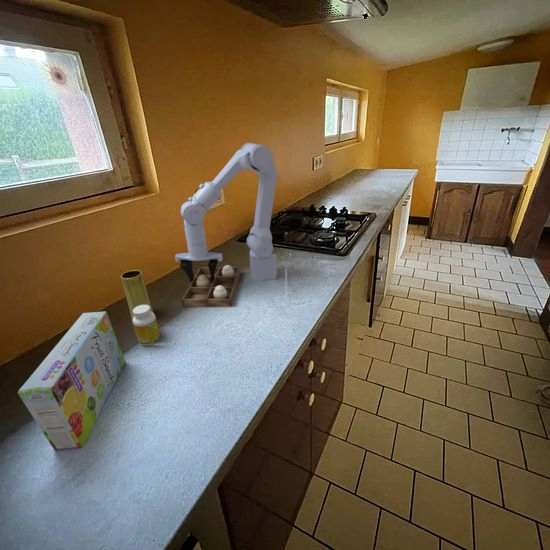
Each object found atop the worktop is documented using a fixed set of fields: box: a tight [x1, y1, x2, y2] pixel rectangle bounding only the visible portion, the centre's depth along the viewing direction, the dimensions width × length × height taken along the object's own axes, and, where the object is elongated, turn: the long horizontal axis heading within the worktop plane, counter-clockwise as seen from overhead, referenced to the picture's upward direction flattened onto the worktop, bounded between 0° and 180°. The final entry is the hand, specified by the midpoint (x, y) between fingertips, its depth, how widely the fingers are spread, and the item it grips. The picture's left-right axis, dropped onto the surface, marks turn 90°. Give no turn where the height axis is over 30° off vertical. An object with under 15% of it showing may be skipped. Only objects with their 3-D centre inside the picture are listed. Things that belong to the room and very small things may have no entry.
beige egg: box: [196, 275, 209, 287], centre depth 99 cm, size 4×4×5 cm
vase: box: [120, 269, 154, 322], centre depth 85 cm, size 6×6×14 cm
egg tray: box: [181, 266, 242, 308], centre depth 100 cm, size 15×22×3 cm
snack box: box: [17, 310, 126, 451], centre depth 59 cm, size 21×6×15 cm, turn 5°
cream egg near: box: [213, 285, 227, 299], centre depth 93 cm, size 4×4×5 cm
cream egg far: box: [222, 264, 234, 276], centre depth 105 cm, size 4×4×5 cm
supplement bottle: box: [132, 305, 161, 347], centre depth 77 cm, size 5×5×10 cm
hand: (202, 280), depth 99 cm, fingers open, 6 cm apart
